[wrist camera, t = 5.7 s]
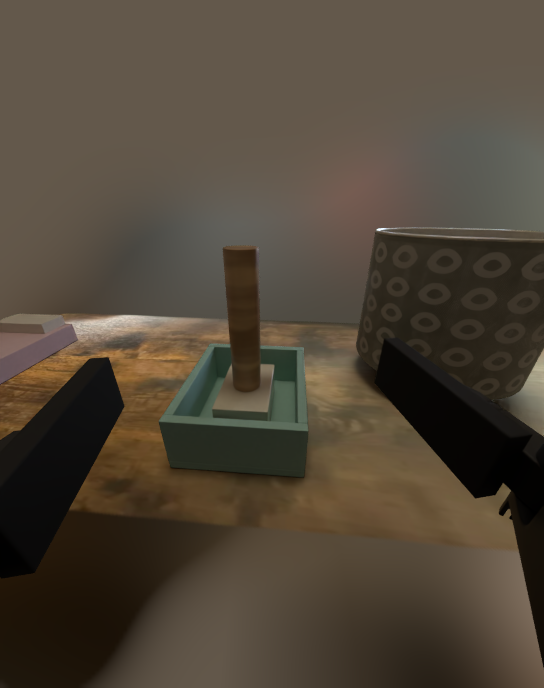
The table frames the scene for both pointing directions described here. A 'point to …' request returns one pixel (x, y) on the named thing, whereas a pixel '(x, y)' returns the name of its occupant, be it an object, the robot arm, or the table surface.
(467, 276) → the planter
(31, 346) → the bed
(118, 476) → the table surface
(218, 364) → the green open box
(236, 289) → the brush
